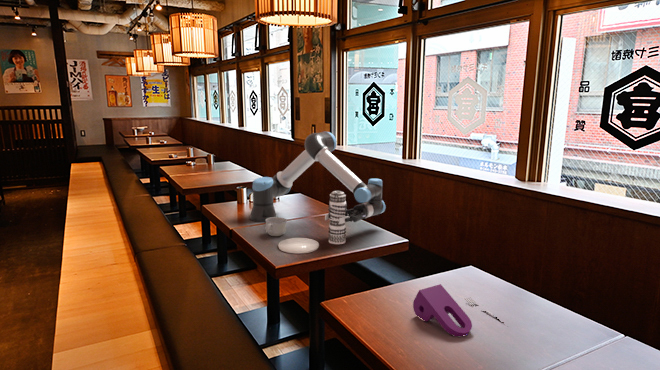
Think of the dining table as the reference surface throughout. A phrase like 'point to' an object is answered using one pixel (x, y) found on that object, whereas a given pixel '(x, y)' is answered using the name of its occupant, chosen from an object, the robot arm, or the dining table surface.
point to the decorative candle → (337, 217)
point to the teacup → (275, 226)
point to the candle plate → (298, 245)
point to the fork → (474, 303)
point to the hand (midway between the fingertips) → (332, 219)
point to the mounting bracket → (441, 310)
